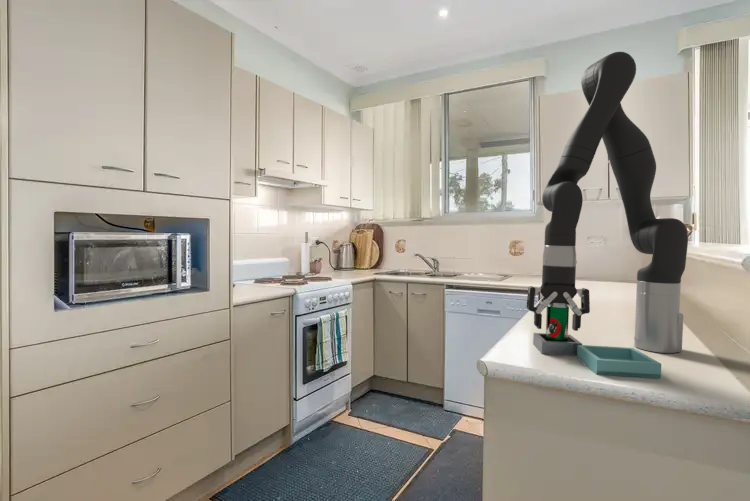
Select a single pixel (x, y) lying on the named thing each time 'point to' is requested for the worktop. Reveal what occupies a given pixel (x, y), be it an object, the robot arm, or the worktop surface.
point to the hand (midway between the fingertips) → (556, 329)
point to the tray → (618, 361)
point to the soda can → (557, 322)
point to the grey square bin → (555, 345)
